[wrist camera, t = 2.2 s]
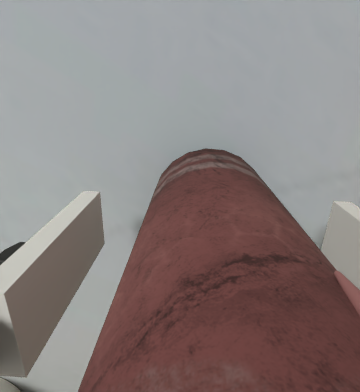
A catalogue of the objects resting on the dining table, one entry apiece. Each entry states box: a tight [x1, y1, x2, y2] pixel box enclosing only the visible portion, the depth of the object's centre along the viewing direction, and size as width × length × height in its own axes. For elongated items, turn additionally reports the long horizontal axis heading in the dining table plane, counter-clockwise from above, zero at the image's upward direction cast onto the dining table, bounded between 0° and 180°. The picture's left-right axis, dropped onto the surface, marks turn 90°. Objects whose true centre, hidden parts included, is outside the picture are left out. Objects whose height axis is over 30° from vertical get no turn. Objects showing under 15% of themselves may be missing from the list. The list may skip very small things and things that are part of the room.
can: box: [78, 149, 360, 392], centre depth 9 cm, size 6×6×14 cm
